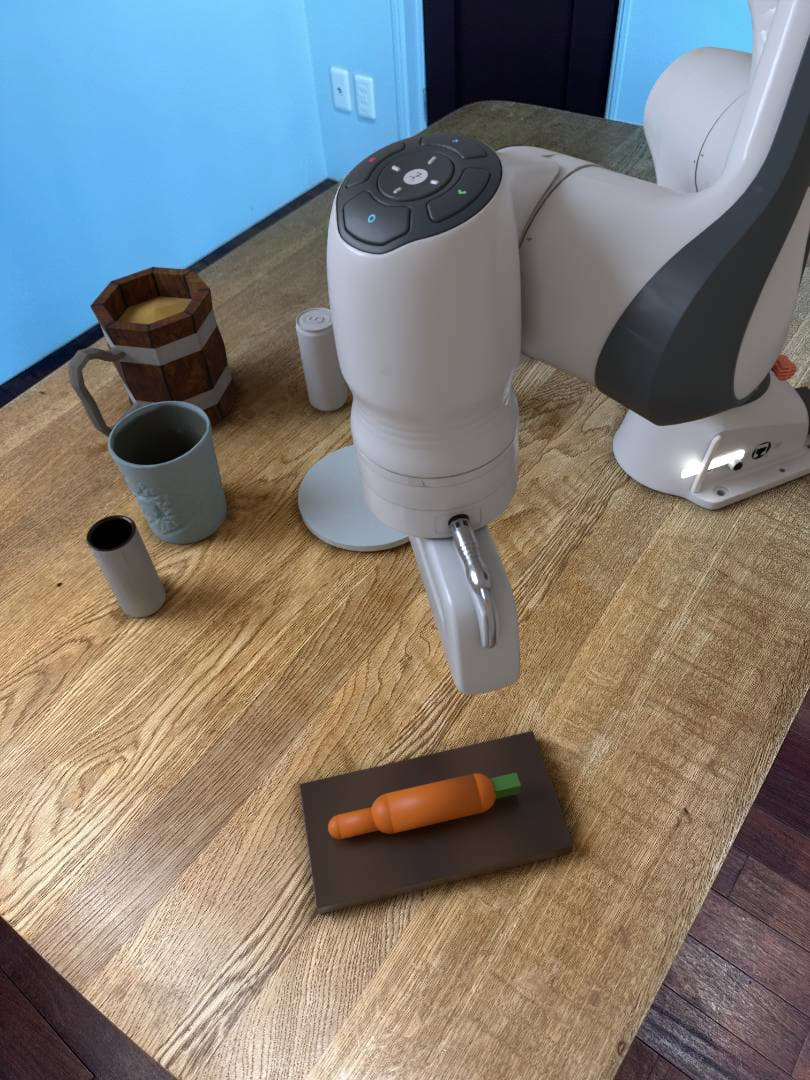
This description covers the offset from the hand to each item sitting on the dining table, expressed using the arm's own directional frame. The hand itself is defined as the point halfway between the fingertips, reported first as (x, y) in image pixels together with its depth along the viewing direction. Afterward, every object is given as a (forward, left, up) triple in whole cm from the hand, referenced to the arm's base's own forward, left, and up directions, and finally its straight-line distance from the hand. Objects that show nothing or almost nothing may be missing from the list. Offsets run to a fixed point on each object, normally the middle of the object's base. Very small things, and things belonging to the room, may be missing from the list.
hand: (448, 606), depth 55 cm
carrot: (+4, +6, -18) cm, 20 cm away
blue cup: (+21, -34, -20) cm, 44 cm away
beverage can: (+3, -49, -20) cm, 53 cm away
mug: (+23, -52, -20) cm, 60 cm away
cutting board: (+3, +6, -20) cm, 21 cm away
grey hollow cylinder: (+26, -23, -20) cm, 40 cm away
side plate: (+1, -31, -20) cm, 36 cm away
